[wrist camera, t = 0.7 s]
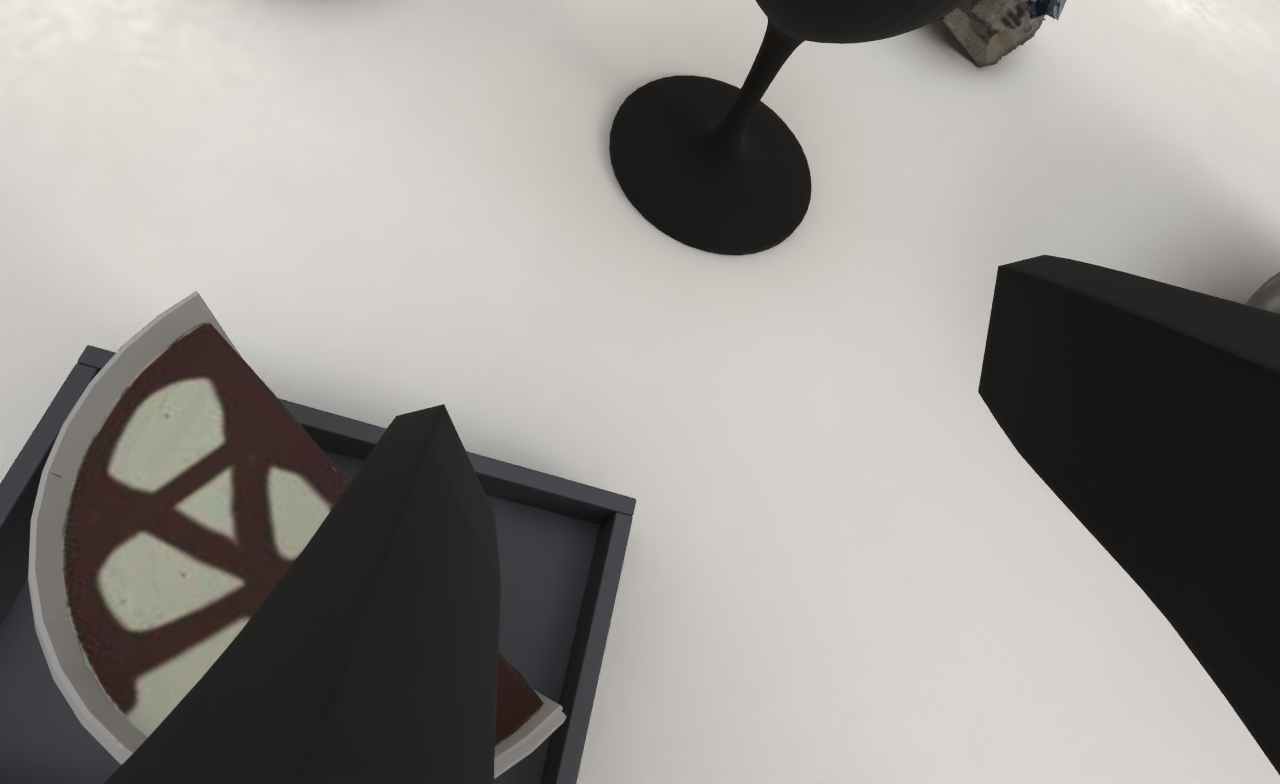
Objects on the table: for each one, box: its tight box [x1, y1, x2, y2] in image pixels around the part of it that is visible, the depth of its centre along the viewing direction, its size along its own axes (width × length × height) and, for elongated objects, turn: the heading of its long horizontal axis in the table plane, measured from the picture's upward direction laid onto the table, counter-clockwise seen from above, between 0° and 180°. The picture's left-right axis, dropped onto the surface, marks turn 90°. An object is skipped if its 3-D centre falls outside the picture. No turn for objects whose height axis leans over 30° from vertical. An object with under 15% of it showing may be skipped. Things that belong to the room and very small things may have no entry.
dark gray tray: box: [0, 345, 636, 784], centre depth 20 cm, size 12×17×3 cm
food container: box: [28, 291, 567, 779], centre depth 17 cm, size 12×6×10 cm, turn 44°
